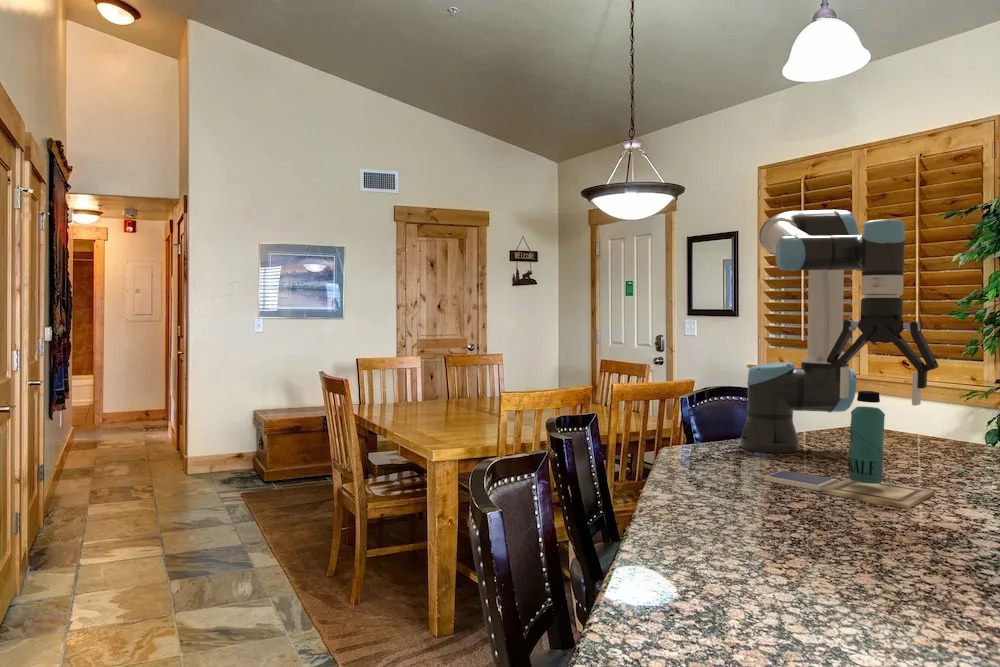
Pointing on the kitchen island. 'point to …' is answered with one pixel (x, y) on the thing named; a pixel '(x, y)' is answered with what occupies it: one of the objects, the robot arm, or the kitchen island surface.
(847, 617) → the kitchen island surface
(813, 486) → the ink pad
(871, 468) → the beverage bottle
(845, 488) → the mark board
